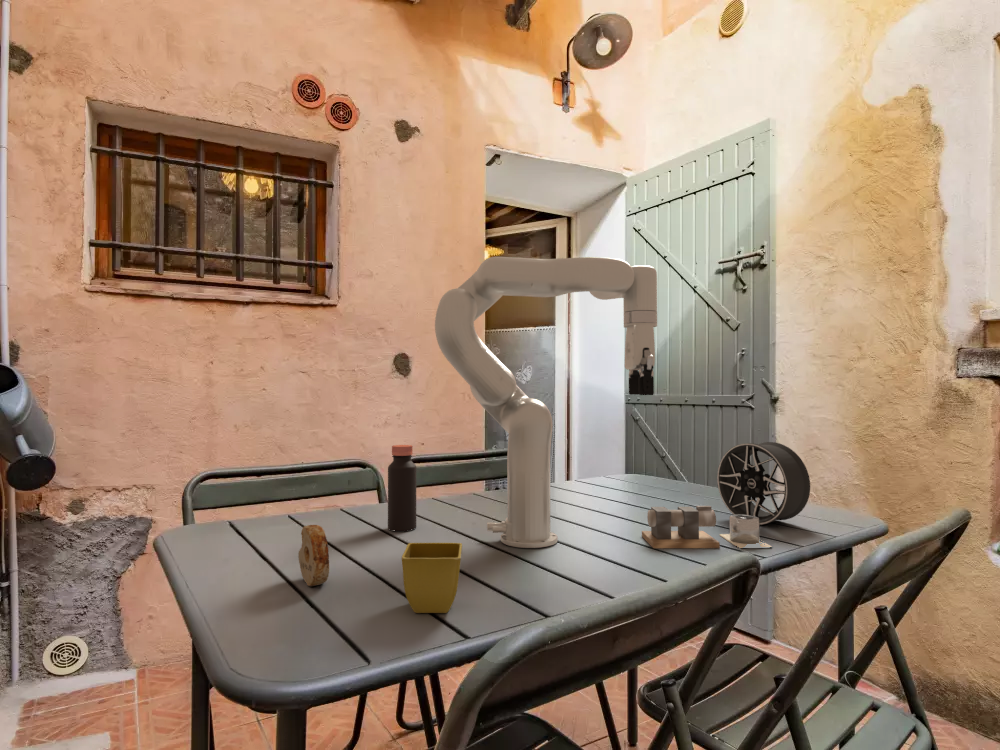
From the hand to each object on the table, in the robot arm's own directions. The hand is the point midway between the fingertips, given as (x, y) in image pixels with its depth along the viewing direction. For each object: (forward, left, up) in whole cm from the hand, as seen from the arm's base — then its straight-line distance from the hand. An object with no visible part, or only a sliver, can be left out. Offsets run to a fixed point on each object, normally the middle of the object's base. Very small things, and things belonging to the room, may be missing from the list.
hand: (640, 394), depth 135 cm
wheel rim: (+34, +14, -32) cm, 49 cm away
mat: (+22, -5, -32) cm, 39 cm away
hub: (+21, -5, -32) cm, 39 cm away
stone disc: (-65, -31, -32) cm, 79 cm away
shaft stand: (+7, -5, -32) cm, 33 cm away
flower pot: (-43, -43, -32) cm, 69 cm away
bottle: (-56, +8, -32) cm, 65 cm away
